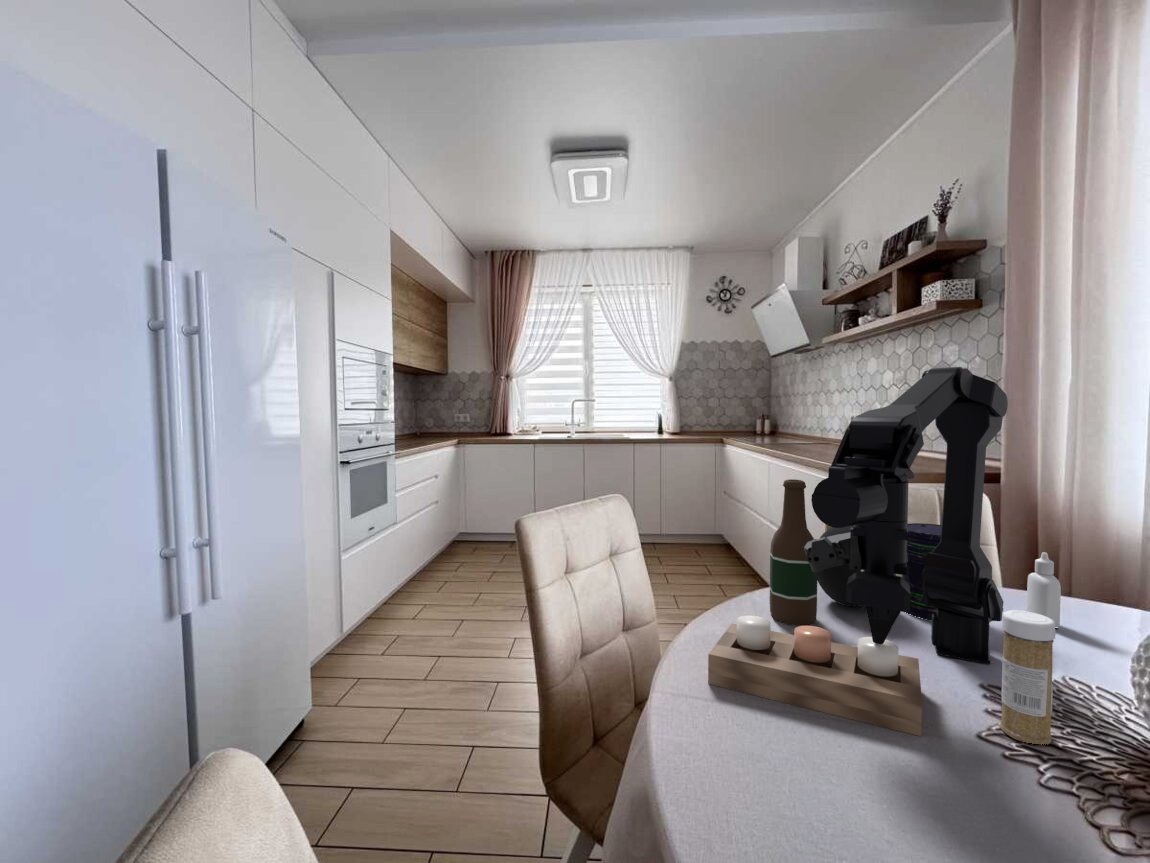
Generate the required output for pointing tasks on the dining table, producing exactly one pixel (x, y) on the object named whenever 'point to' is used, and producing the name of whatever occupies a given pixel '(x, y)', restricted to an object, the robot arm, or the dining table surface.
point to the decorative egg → (836, 574)
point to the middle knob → (812, 643)
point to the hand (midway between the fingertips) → (878, 642)
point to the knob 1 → (753, 632)
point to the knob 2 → (878, 657)
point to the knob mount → (820, 681)
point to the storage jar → (920, 564)
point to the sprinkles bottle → (1027, 676)
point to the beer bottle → (792, 563)
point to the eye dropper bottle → (1044, 590)
